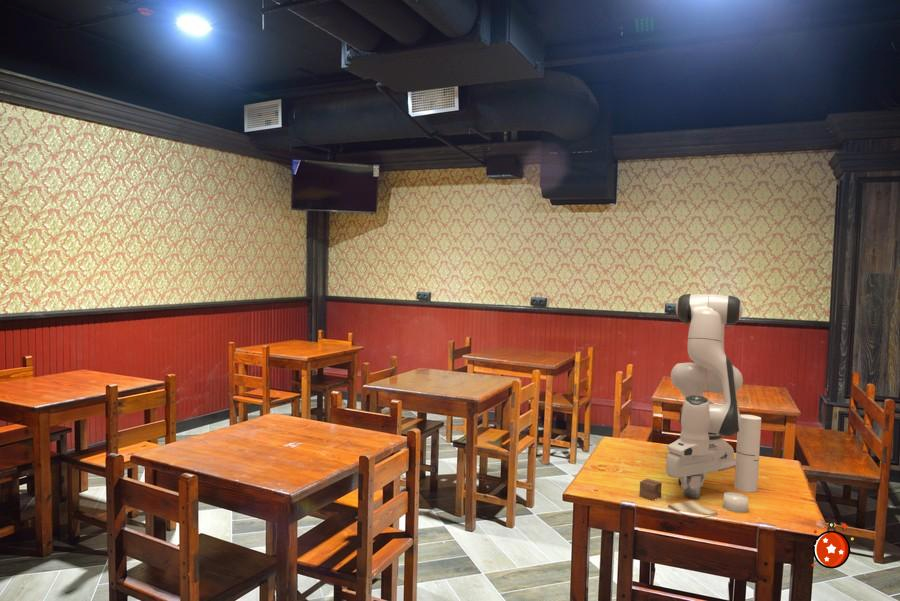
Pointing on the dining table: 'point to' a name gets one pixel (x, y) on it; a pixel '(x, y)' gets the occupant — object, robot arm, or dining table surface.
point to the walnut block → (650, 489)
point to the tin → (693, 486)
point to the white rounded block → (735, 502)
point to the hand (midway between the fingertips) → (692, 487)
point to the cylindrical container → (748, 453)
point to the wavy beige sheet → (692, 508)
